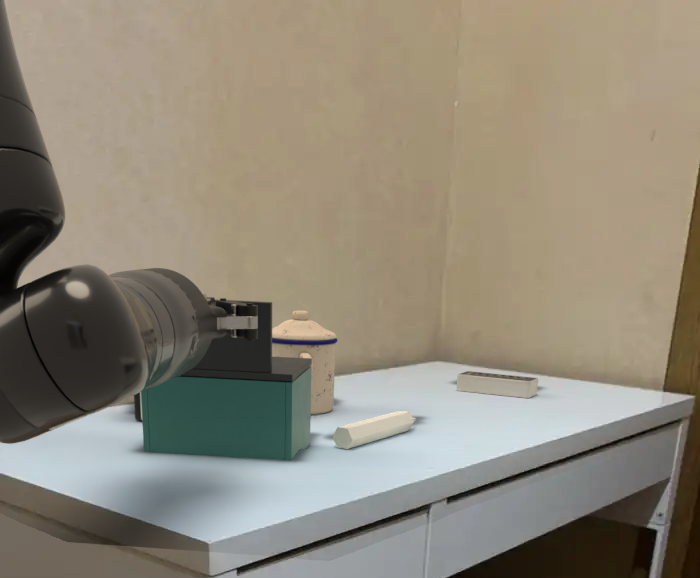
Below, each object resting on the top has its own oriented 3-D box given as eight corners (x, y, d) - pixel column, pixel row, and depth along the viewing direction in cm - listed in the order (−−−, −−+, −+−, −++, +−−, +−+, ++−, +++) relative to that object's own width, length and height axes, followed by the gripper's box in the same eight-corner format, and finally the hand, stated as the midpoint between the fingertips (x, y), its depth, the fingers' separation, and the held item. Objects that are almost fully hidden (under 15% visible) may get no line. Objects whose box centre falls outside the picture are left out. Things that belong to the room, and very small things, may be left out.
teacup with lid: (259, 402, 120) (259, 307, 116) (329, 402, 122) (331, 308, 117) (268, 420, 109) (268, 315, 105) (345, 420, 111) (348, 317, 106)
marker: (416, 432, 109) (343, 453, 96) (403, 421, 110) (329, 441, 97) (428, 414, 108) (355, 433, 95) (414, 403, 108) (341, 420, 95)
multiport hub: (528, 398, 131) (530, 381, 130) (455, 390, 136) (456, 374, 135) (537, 394, 135) (539, 378, 134) (465, 386, 139) (467, 370, 139)
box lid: (139, 373, 85) (136, 296, 82) (176, 357, 96) (174, 289, 93) (292, 381, 84) (293, 303, 81) (311, 364, 95) (313, 295, 92)
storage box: (144, 461, 88) (140, 374, 85) (179, 436, 99) (176, 358, 96) (291, 470, 87) (292, 382, 84) (310, 444, 98) (311, 365, 95)
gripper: (238, 274, 62) (284, 266, 78) (45, 265, 63) (129, 259, 79) (239, 389, 65) (283, 359, 80) (54, 379, 66) (133, 351, 82)
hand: (206, 310), depth 80 cm, fingers closed
